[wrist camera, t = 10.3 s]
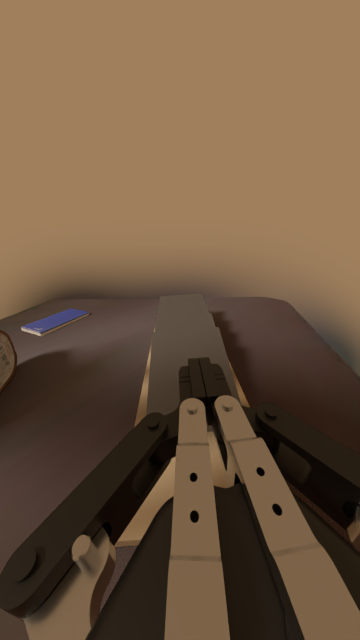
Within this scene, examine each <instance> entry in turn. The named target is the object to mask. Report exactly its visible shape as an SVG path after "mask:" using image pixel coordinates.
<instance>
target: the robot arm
mask: <svg viewBox="0 0 360 640" xmlns="http://www.w3.org/2000/svg"><path fill="white" fill-rule="evenodd" d="M178 372H179V395H180V403H179V406H178V407H177V409H176V410H174V411H173V412H171V413H169V414H167V415H163V414H161V413H159V412H153V413H150V414H148V415H146V416H145V417H144V418H143V419H142V420H141V421H140V422H139V423H138V424H137V425H136V426H135V427H134V428H133V429H132V430H131V431H130V432H129V433H128V434H127V435H126V437H125V438H124V439H123V440H122V441H121V442H120V443H119V444H118V445H117V446H116V447H115V448H114V449H113V450H112V451H111V452H110V453H109V454H108V455H107V456H106V457H105V458H104V459H103V460H102V461H101V462H100V463H99V464H98V466H97V467H96V468H95V469H94V470H93V471H92V472H91V473H90V474H89V475H88V476H87V477H86V478H85V479H84V480H83V481H82V482H81V483H80V484H79V485H78V486H77V487H76V488H75V489H74V490H73V491H72V492H71V494H70V495H69V496H68V497H67V498H66V499H65V500H64V501H63V502H62V503H61V504H60V505H59V506H58V507H57V508H56V509H55V510H54V511H53V512H52V513H51V514H50V515H49V516H48V517H47V518H46V519H45V520H44V521H43V523H42V524H41V525H40V526H39V527H38V528H37V529H36V530H35V531H34V532H33V533H32V534H31V535H30V536H29V537H28V538H27V539H26V540H25V541H24V542H23V543H22V544H21V545H20V546H19V547H18V549H17V550H16V551H15V552H14V553H13V555H12V556H11V557H10V559H9V560H8V562H7V563H6V565H5V567H4V569H3V571H2V573H1V575H0V608H1V609H3V610H5V611H7V612H8V613H10V614H12V615H14V616H15V617H17V618H19V619H21V620H22V621H24V622H25V626H26V629H27V632H28V635H29V639H30V640H360V455H359V454H357V453H356V452H354V451H352V450H351V449H349V448H347V447H346V446H344V445H342V444H340V443H339V442H337V441H335V440H334V439H332V438H330V437H329V436H327V435H325V434H324V433H322V432H320V431H319V430H317V429H315V428H314V427H312V426H310V425H308V424H307V423H305V422H303V421H302V420H300V419H298V418H297V417H295V416H293V415H292V414H290V413H288V412H287V411H285V410H283V409H282V408H280V407H278V406H276V405H274V404H272V403H261V404H259V405H258V406H257V408H256V409H255V408H250V407H245V406H243V405H240V403H239V402H238V400H237V399H235V398H234V397H232V394H231V391H230V389H229V386H228V383H227V381H226V378H225V375H224V373H223V370H222V368H221V367H220V366H219V365H218V364H217V363H216V364H211V362H210V359H209V357H201V358H188V366H181V368H180V370H179V371H178ZM207 424H208V426H209V425H212V428H213V432H214V438H215V442H216V445H217V449H218V452H219V456H220V459H221V463H222V466H223V470H224V473H225V478H226V485H227V488H222V487H218V486H214V485H213V476H212V466H211V457H210V447H209V443H208V434H207ZM174 457H176V463H175V482H174V496H172V497H171V498H170V499H168V500H167V501H166V502H165V503H164V504H163V505H162V506H161V508H160V509H159V510H158V512H157V513H156V515H155V516H154V518H153V520H152V522H151V523H150V525H149V527H148V529H147V530H146V532H145V534H144V536H143V538H142V539H141V541H140V543H139V545H138V546H137V548H136V550H135V552H134V554H133V555H132V557H131V559H130V561H129V562H128V564H127V566H126V568H125V569H124V571H123V573H122V575H121V577H120V578H119V580H118V582H117V584H116V585H115V587H114V589H113V591H112V593H111V594H110V596H109V598H108V600H107V601H106V603H105V605H104V607H103V608H102V610H101V612H100V606H101V602H102V598H103V595H104V593H105V590H106V588H107V586H108V584H109V582H110V580H111V578H112V575H113V572H114V568H115V562H116V553H115V548H114V545H115V544H116V543H117V541H118V540H119V538H120V537H121V535H122V534H123V532H124V531H125V529H126V528H127V526H128V525H129V523H130V522H131V520H132V519H133V517H134V516H135V514H136V513H137V511H138V510H139V508H140V507H141V505H142V504H143V502H144V501H145V499H146V498H147V496H148V495H149V493H150V492H151V490H152V489H153V487H154V486H155V484H156V483H157V481H158V480H159V479H160V477H161V476H162V474H163V473H164V471H165V470H166V468H167V467H168V465H169V464H170V462H171V458H174ZM283 477H284V478H285V479H286V480H287V481H288V482H290V483H291V484H292V485H293V486H294V487H295V488H297V489H298V490H299V491H300V492H301V493H303V494H304V495H305V496H306V497H307V498H308V499H310V500H311V501H312V502H313V503H314V504H316V505H317V506H318V507H319V508H320V509H321V510H323V511H324V512H325V513H326V514H327V515H329V516H330V517H331V518H332V519H333V520H334V521H336V522H337V523H338V524H339V525H340V526H342V527H343V528H344V529H345V530H346V531H347V532H348V535H349V537H350V540H351V542H352V544H353V545H354V547H355V548H354V547H353V546H352V545H351V544H350V543H349V542H347V541H346V540H345V539H344V538H343V537H342V536H341V535H340V534H339V533H338V532H336V531H335V530H334V529H333V528H332V527H331V526H330V525H329V524H328V523H327V522H325V521H324V520H323V519H322V518H321V517H320V516H319V515H318V514H317V513H316V512H315V511H313V510H312V509H311V508H310V507H309V506H308V505H307V504H306V503H305V502H303V501H302V500H301V499H300V498H298V497H297V496H296V495H294V494H292V493H291V491H290V489H289V487H288V485H287V484H286V482H285V480H284V478H283ZM99 612H100V614H99Z"/></svg>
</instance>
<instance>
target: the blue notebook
mask: <svg viewBox="0 0 360 640" xmlns="http://www.w3.org/2000/svg"><path fill="white" fill-rule="evenodd" d="M88 315H89V312H86V311H81V310H75V309H68V310H66V311H63V312H60V313H58V314H55V315H52V316H49V317H47V318H44V319H41V320H39V321H36V322H33V323H30V324H28V325H25V326H22V327H21V329H22V331H25V332H29V333H32V334H35V335H39V336H44V335H46V334H48V333H50V332H53V331H55V330H57V329H59V328H62V327H64V326H66V325H68V324H70V323H73V322H75V321H77V320H79V319H82V318H84V317H86V316H88Z"/></svg>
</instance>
